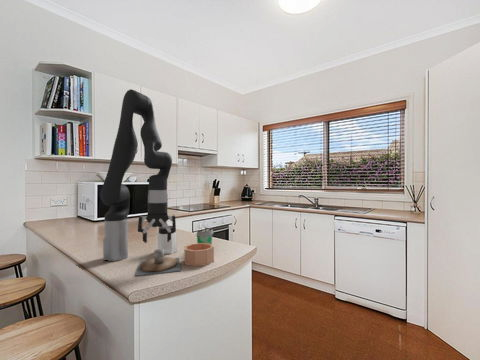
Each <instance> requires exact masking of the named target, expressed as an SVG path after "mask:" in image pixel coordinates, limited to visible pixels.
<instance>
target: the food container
mask: <svg viewBox="0 0 480 360" xmlns="http://www.w3.org/2000/svg"><path fill="white" fill-rule="evenodd" d="M213 234H214V230H213V228H211V227H204V229H203V230H201V231H196V237H197V238H196V239H197V240H196V242H197V243H206V244H212V245H213V242H212V241H213ZM197 243H196V244H197Z"/></svg>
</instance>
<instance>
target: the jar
mask: <svg viewBox="0 0 480 360" xmlns="http://www.w3.org/2000/svg"><path fill="white" fill-rule="evenodd" d="M168 226H169V227H170V228H172V227H173V225H168ZM167 232H168V231H167V230H166V229H165V227H164V226H162V227H158V233H157V249H164V255H169V254H173V253H175V252H177V251H178V232H177V229H176V230H175V231H172V232H171V240H169V242H167Z"/></svg>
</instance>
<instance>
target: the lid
mask: <svg viewBox="0 0 480 360" xmlns="http://www.w3.org/2000/svg"><path fill="white" fill-rule="evenodd" d="M153 251H154V255H153V257H154V258H150V259H147V260H143V261H144V262H142V263H141V264H140V269H141V270H142V271H145V272H161V271H166V270H169V269H172V268H174V267H176V266H177V260H176V259H174V258H175V257H165V254H164V249H158V248H157V249H154V250H153Z"/></svg>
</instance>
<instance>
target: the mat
mask: <svg viewBox="0 0 480 360" xmlns="http://www.w3.org/2000/svg"><path fill="white" fill-rule="evenodd" d="M173 258H174V259H176V260H177V266H176V267H174V268H172V269H169V270H166V271H161V272H145V271H142V270H141V269H140V264H141V263H142V262H144V261H145V260H142V261H139V263H138V267H137V269H136V272H135V276H134V277H144V276H150V275H151V276H152V275H153V276H154V275H158V274H159V275H160V274H168V273H177V272H181V271H182V270H181V269H182V267H181V261H180V257H173Z"/></svg>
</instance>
